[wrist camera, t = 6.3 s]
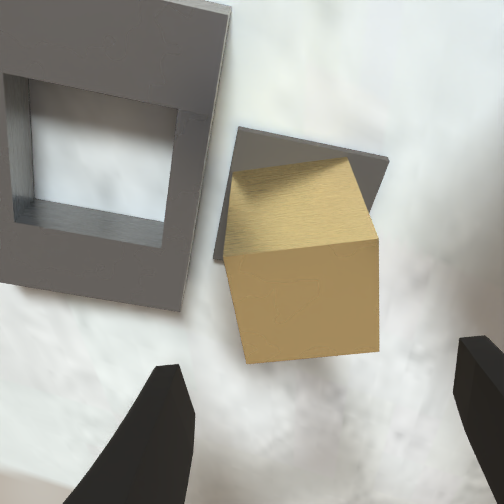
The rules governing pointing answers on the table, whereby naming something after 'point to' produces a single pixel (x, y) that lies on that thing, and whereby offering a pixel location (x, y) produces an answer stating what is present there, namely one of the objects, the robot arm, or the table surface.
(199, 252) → the table surface
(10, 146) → the gray rectangular frame
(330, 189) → the block
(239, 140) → the flat gray plate
